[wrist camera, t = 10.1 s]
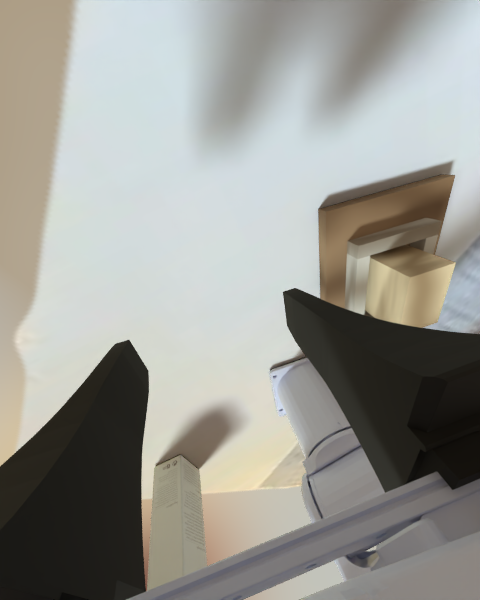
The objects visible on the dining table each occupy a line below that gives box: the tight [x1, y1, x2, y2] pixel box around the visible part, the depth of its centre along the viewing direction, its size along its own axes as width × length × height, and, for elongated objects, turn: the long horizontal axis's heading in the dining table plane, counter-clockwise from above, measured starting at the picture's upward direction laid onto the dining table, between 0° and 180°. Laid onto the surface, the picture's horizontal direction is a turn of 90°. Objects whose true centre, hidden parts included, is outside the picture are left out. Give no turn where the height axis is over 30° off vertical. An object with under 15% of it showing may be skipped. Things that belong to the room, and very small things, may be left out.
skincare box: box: [147, 455, 207, 591], centre depth 30 cm, size 6×4×12 cm
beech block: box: [365, 245, 456, 328], centre depth 22 cm, size 4×6×5 cm, turn 12°
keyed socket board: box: [318, 175, 455, 318], centre depth 24 cm, size 16×12×3 cm
